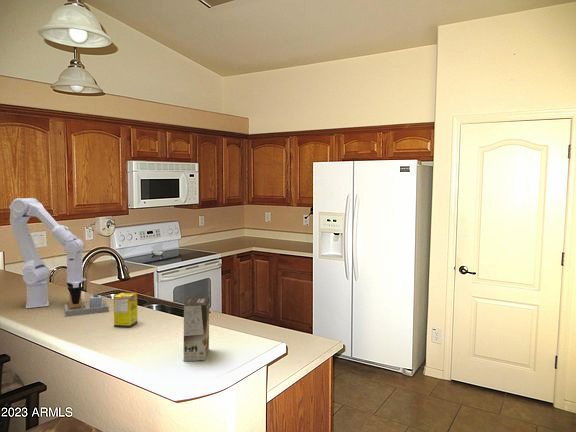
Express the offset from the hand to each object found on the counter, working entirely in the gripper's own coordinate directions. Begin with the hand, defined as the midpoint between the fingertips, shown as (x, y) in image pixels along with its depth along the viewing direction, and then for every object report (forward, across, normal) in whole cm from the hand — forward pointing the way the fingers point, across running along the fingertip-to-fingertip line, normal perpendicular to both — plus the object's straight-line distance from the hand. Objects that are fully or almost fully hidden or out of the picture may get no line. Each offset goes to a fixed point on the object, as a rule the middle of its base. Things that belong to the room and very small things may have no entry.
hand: (75, 301), depth 172 cm
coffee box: (+2, -73, -28) cm, 78 cm away
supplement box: (+2, -35, -14) cm, 38 cm away
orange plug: (+2, 0, 0) cm, 2 cm away
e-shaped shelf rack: (+2, -9, -4) cm, 10 cm away
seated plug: (+2, -9, -7) cm, 12 cm away
